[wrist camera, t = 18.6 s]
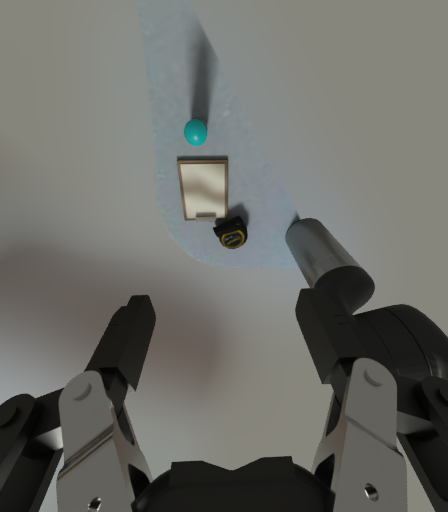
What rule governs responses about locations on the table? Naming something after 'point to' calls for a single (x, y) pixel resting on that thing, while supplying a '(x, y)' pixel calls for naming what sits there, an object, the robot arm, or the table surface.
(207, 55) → the table surface
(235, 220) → the tape measure
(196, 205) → the clipboard
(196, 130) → the marker
